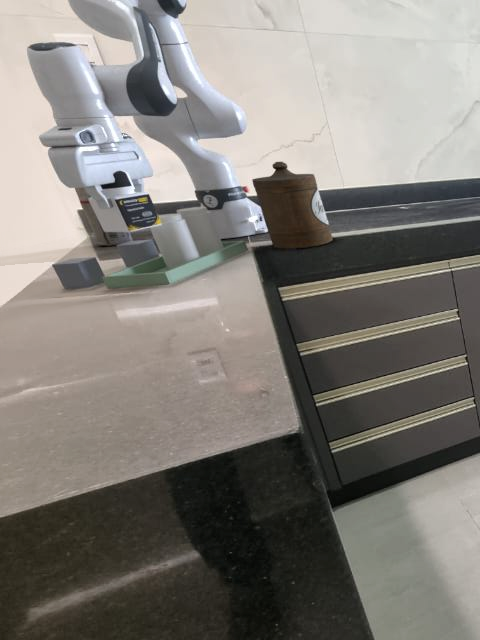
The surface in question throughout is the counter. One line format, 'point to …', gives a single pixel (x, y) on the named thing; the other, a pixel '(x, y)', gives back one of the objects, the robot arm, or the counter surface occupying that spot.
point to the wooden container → (292, 209)
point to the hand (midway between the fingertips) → (124, 204)
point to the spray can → (96, 227)
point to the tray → (160, 275)
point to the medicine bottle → (125, 207)
